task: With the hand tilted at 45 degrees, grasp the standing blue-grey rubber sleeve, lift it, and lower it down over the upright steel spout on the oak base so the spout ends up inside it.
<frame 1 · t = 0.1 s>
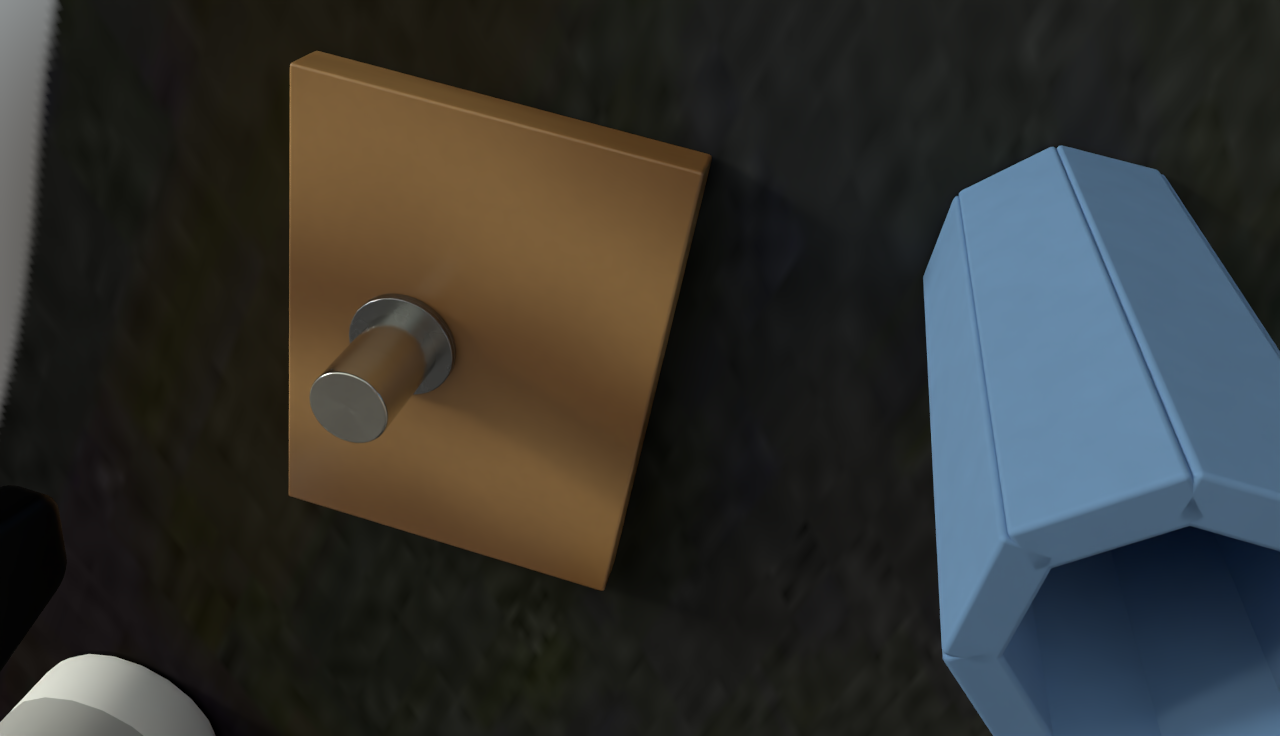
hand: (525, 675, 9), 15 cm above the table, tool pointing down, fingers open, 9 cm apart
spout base: (482, 335, 25), on the table
spray bottle: (139, 714, 37), on the table
sleeve: (1056, 268, 21), on the table
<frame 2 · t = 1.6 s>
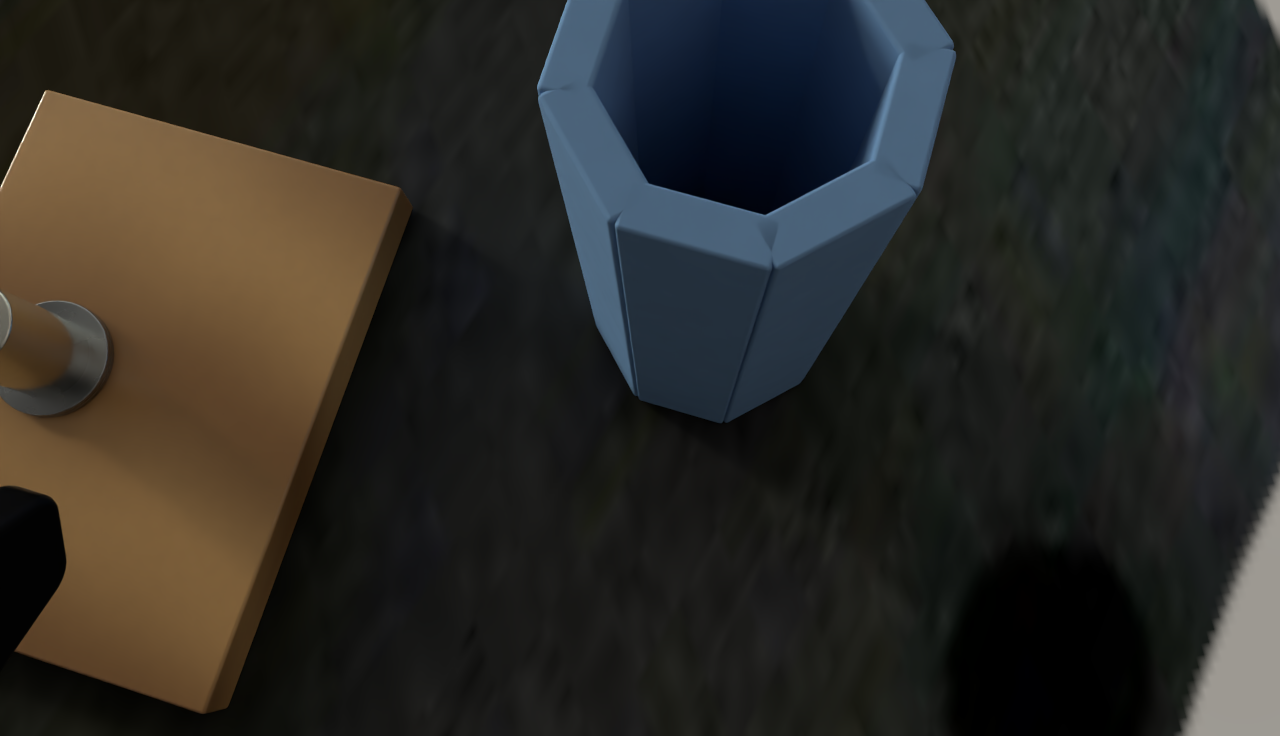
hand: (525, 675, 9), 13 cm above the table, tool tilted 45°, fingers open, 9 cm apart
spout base: (145, 389, 23), on the table
sleeve: (710, 310, 24), on the table
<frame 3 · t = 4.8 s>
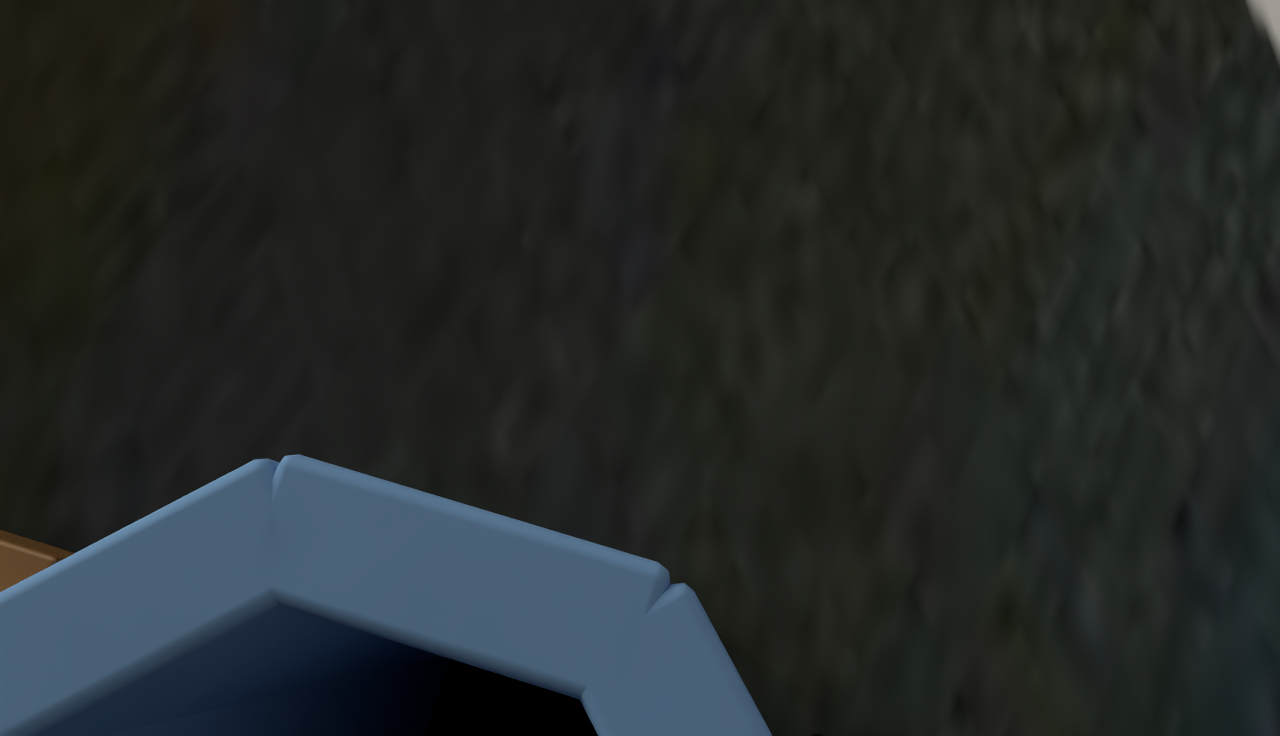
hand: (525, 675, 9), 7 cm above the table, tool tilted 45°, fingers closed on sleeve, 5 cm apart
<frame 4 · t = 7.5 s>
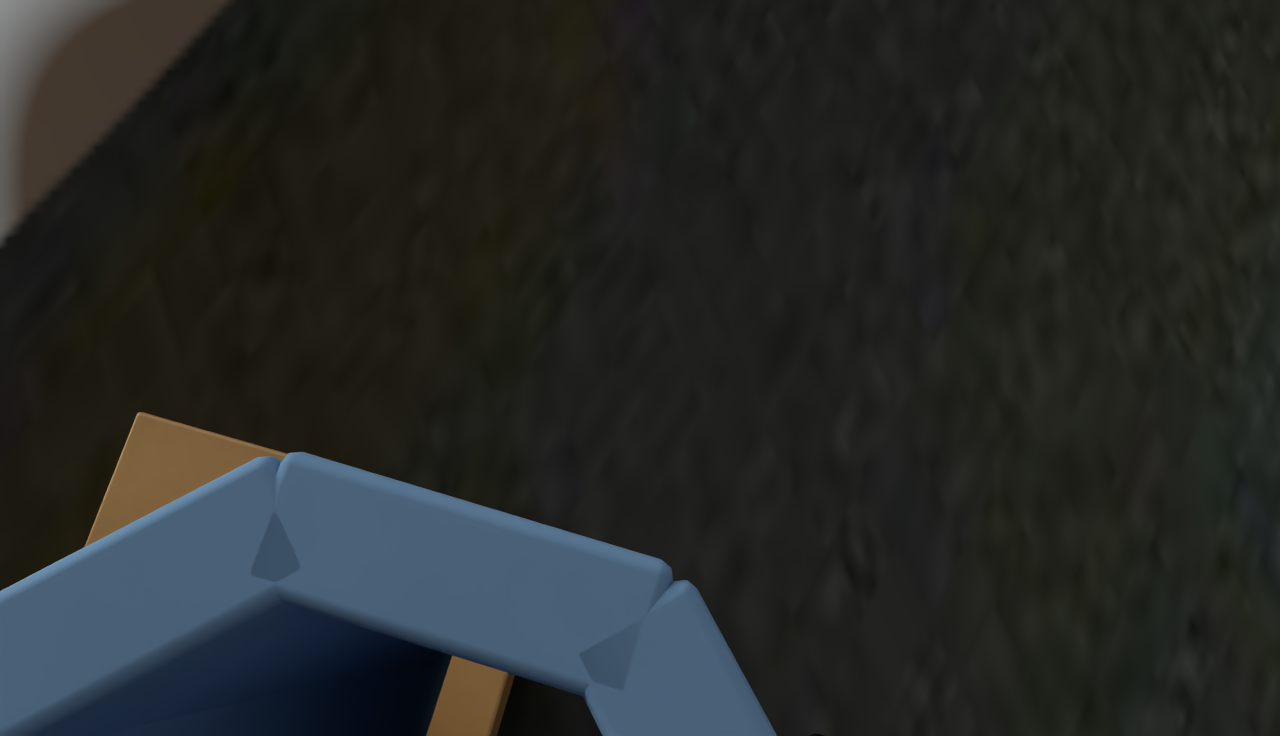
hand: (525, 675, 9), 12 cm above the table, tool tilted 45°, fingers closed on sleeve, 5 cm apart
when the fingers open (8 cm above the table, at t = 10.5 s): sleeve stays where it is, resting on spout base.
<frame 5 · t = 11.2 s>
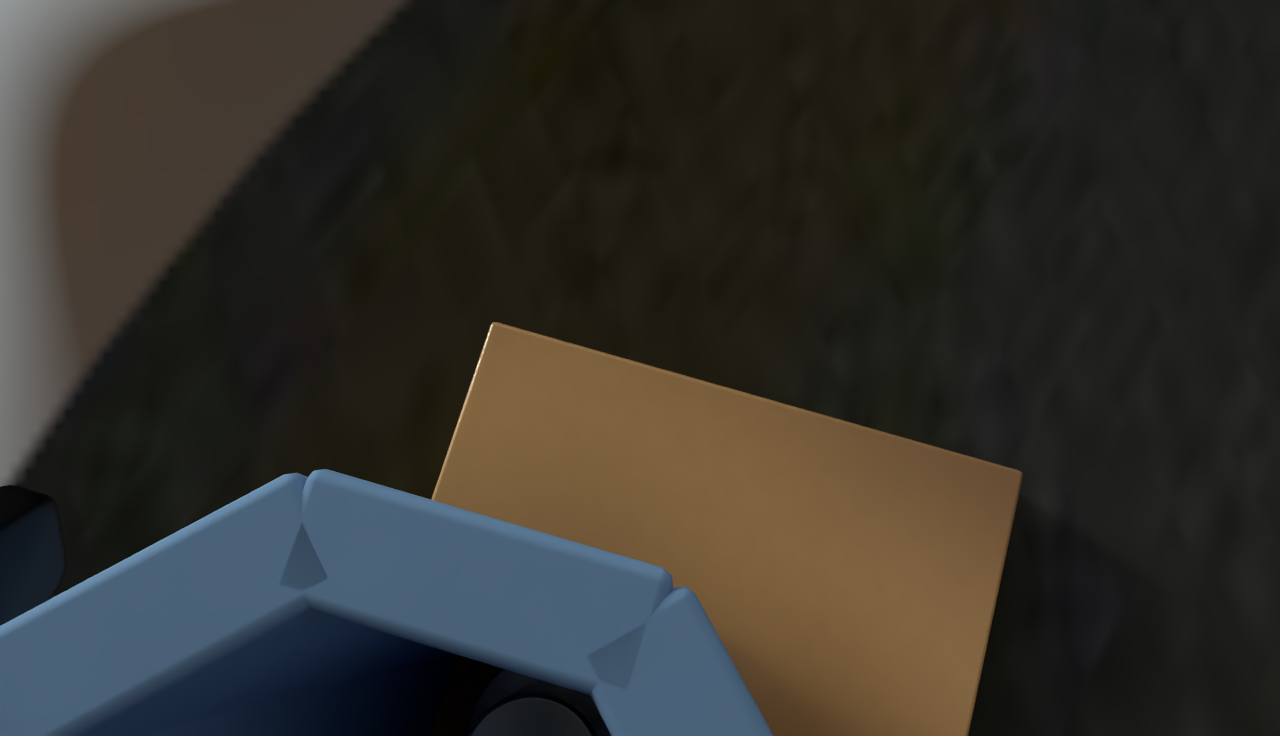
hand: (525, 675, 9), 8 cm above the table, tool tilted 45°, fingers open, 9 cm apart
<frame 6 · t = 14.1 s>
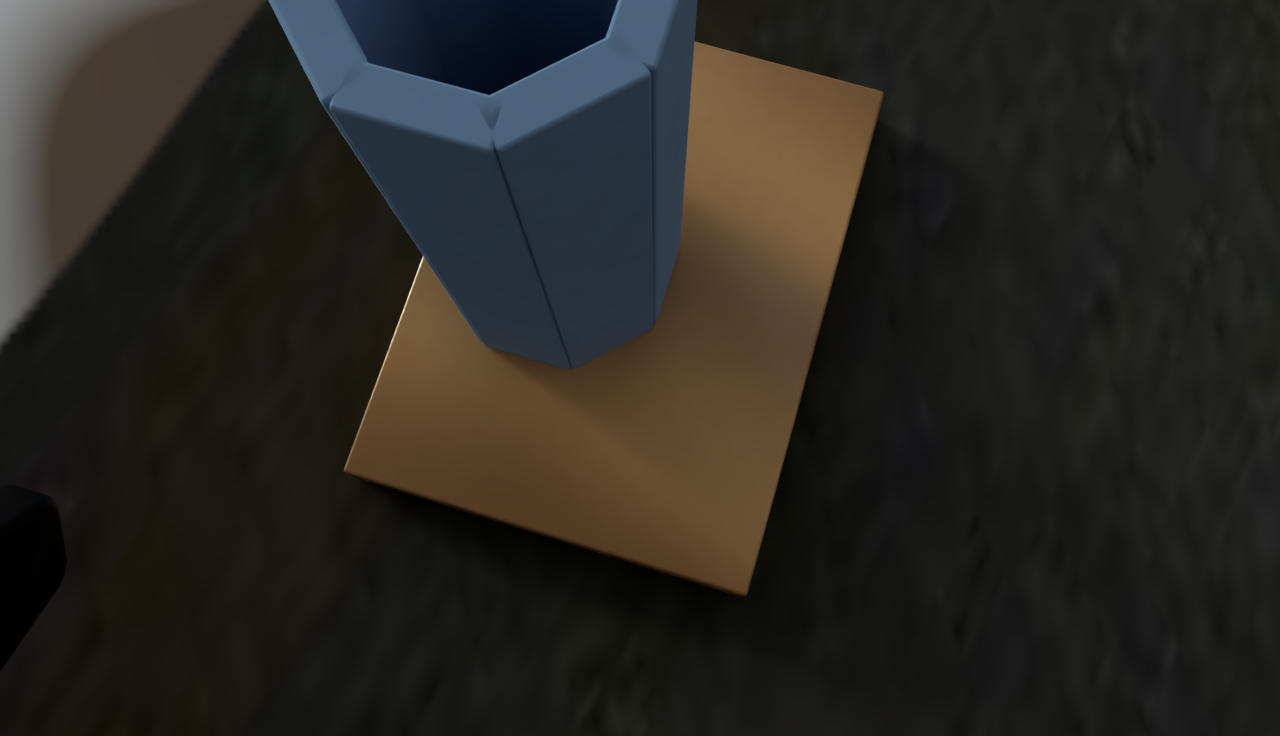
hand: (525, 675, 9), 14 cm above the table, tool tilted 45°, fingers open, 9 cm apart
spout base: (626, 289, 24), on the table
sleeve: (561, 254, 23), point 1 cm above the table, touching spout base
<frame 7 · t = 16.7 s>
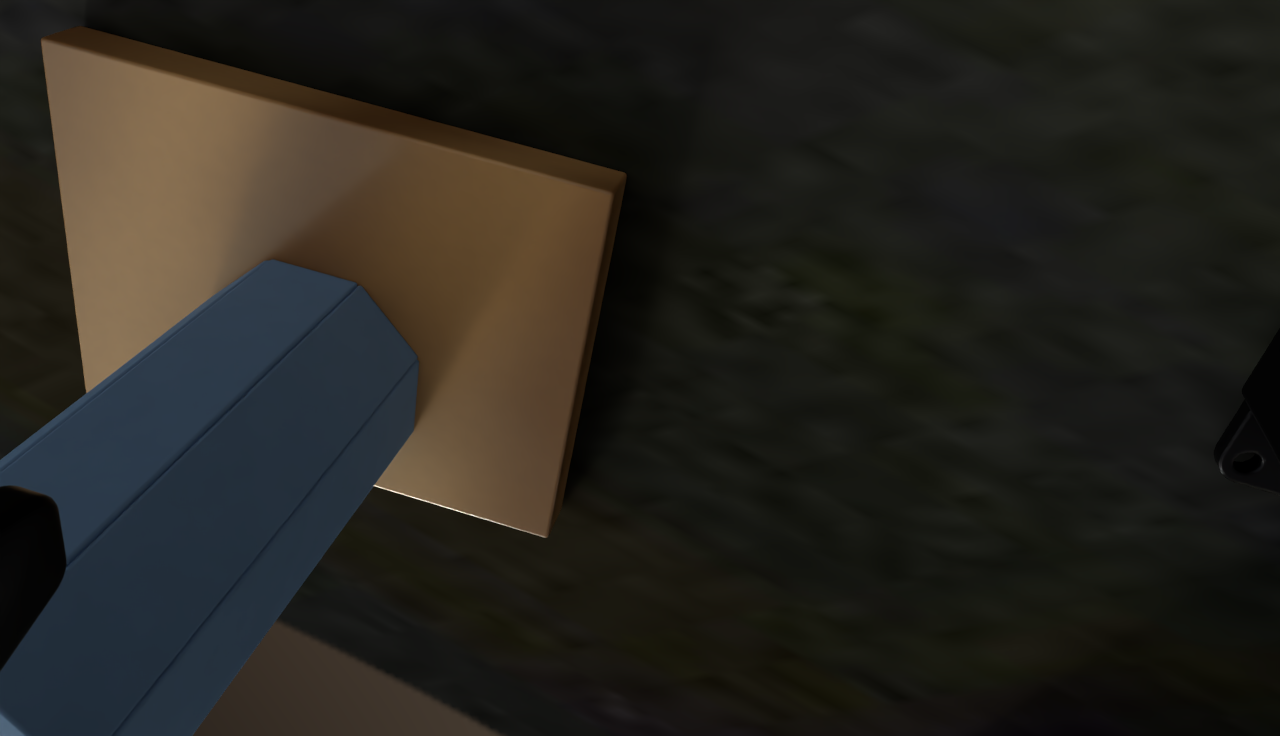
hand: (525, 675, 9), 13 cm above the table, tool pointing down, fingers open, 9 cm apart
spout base: (340, 286, 23), on the table
sleeve: (313, 366, 23), point 1 cm above the table, touching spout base
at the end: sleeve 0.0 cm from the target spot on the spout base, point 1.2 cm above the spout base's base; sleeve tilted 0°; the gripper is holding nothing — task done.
